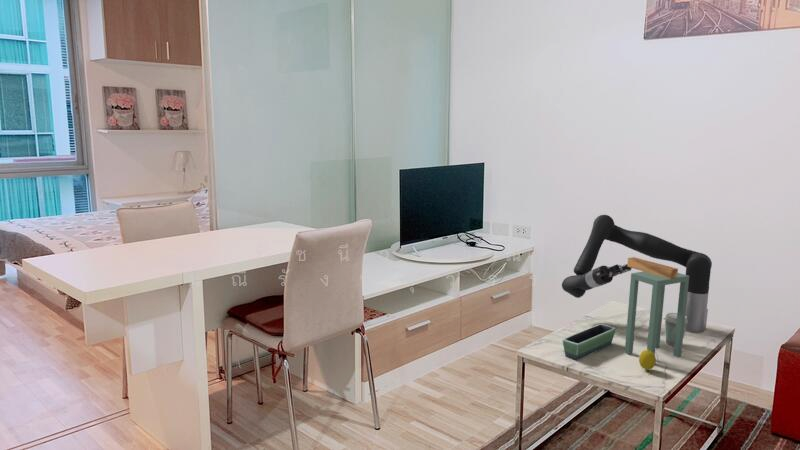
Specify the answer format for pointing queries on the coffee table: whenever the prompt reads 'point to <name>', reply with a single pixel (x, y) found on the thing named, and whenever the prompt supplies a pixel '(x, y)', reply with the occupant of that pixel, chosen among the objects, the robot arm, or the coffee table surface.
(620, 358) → the coffee table surface
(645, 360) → the lemon
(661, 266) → the block
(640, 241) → the robot arm
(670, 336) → the coffee cup
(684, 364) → the coffee table surface
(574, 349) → the planter
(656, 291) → the tall green stool
